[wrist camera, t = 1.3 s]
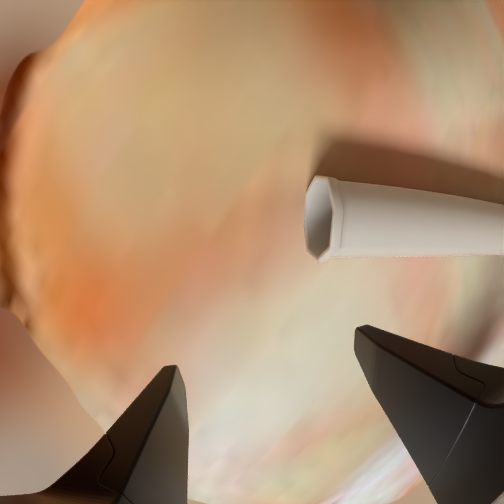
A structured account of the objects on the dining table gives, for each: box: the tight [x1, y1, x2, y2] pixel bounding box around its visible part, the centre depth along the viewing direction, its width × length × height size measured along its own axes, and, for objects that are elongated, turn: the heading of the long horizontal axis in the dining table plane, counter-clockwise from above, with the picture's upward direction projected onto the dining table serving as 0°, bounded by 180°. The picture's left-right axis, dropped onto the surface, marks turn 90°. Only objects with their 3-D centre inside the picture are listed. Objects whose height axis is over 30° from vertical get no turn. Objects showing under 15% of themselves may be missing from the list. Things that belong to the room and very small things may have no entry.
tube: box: [304, 175, 504, 262], centre depth 20 cm, size 5×5×25 cm
